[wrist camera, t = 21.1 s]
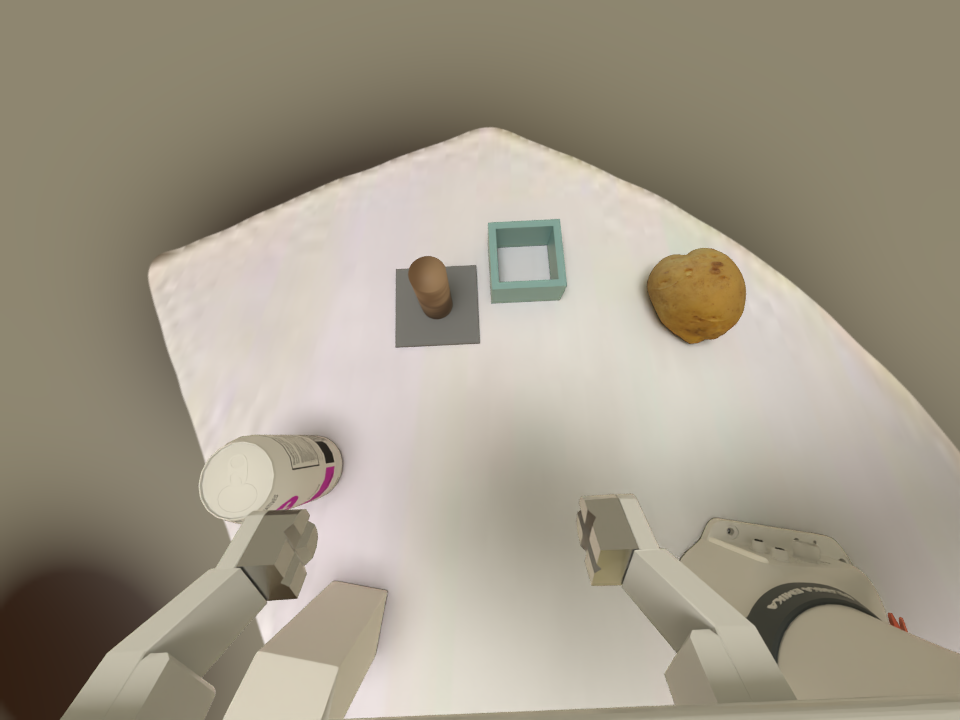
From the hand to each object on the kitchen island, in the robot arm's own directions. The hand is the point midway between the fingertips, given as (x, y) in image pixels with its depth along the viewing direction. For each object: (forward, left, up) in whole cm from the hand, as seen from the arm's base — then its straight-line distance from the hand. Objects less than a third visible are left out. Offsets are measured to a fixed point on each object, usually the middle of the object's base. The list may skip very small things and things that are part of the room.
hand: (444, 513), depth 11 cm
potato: (-30, -19, -38) cm, 52 cm away
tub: (-8, -26, -37) cm, 46 cm away
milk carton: (+16, +19, -38) cm, 45 cm away
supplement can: (+22, +1, -38) cm, 44 cm away
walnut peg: (+5, -21, -37) cm, 43 cm away
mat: (+5, -21, -37) cm, 43 cm away
